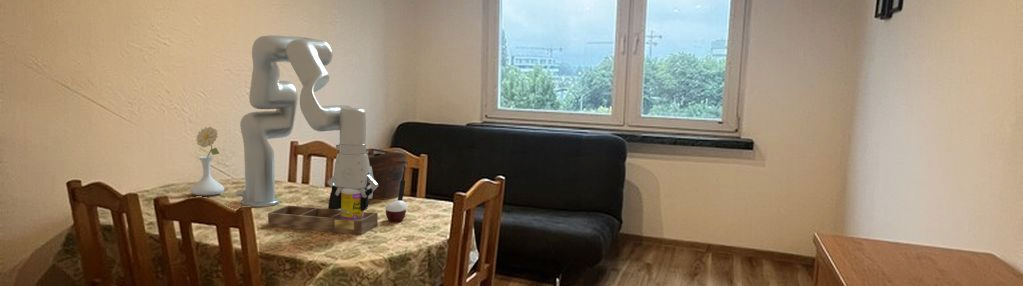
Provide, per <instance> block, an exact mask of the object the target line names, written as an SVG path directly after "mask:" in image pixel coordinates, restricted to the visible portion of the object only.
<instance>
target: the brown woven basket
mask: <svg viewBox="0 0 1023 286" xmlns="http://www.w3.org/2000/svg"><path fill="white" fill-rule="evenodd" d="M366 154H368V158H369V164H370V166H371V167H372V172H373V177H374V180H375V181H376V183H377V184H378V187H377V188H376V189H375V190H374V191H373V197H372V199H375V200H386V199H387V200H388V199H394V198H398V194H399V188H400V181H401V180H403V177H404V171H405V166H406V165H409V162H408V159H407V154H406V153H405V152H404V151H402V150H392V151H388V150H384V149H381V148H380V149H379V148H371V147H370V148H366Z"/></svg>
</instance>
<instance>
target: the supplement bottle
mask: <svg viewBox="0 0 1023 286" xmlns="http://www.w3.org/2000/svg"><path fill="white" fill-rule="evenodd" d="M361 198H362V194H361V191H360V189H351V188H342V190H341V219H349V220H362V219H364V212H365V210H364V211H361Z"/></svg>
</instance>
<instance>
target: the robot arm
mask: <svg viewBox="0 0 1023 286" xmlns="http://www.w3.org/2000/svg"><path fill="white" fill-rule="evenodd" d="M251 59H252V71H251V80H250V87H249V97H248V99H249V103H250V106H251V107H253V108H254V109H257V110H264V111H252V112H249V113H246V114H245V115H243V116H242V118H241V119H240V132H241V136H242V141H243V142H242V143H243V152H244V153H243V154H244V185H245V188H244V189H238V190H237V192H236V193H235V194H236V195H235V196H237V197H242V199H241V200H240V205H242V206H244V207H249V206H250V207H251V208H256V207H257V208H258V207H262V208H263V207H271V206H274V205H278V204H279V203H280V201H281V199H280V197H276V191H275V190H276V186H275V185H276V183H275V180H276V178H275V176H276V175H275V151H274V149H273V147H272V145H271V144H270V142H269V141H268V140H272V139H280V138H281V139H282V138H286V137H288V136H290V135H291V134H292V133H293V130H294V124H295V121H296V113H297V108H298V106H297V105H298V100H299V106H300V110H301V113H302V115H303V117H304V119H305V120H306V122H307V124H308V125H309V127H310V128H311V129H313V130H314V131H315V132H331V131H334V132H335V131H339V143H338V144H336V145H335V149H336V150H338V151H339V152H338V153H337V154H336V157H335V161H334V168H333V171H334V172H333V176H332V177H330V178H329V180H327V184H328V185H329V187H330V188H331V191H332V190H333V191H334V192H335V194H336V195H337V205H338V209H341V190H342V188H351V189H360V191H361V194H362V198H361V211H364V212H365V210H368V208H369V200H368V196H370V194H371V193H372V192H373V191H374V190H375V189H376V188H377V187H378V184H377V183H376V181H375V180H374V179H373V178H372V177H371V174H370V164H369V158H368V154H366V149H367V147H366V146H367V113H366V110H365V109H364V108H362V107H352V106H351V105H350V106H349V105H346V104H345V105H344V104H343V105H342V104H340V105H320V103H319V102H318V100H317V98H316V96H315V92H318V91H320V90H321V89H323V88H325V86H327V84H328V83H329V81H330V75H329V74H330V73H328V71H327V69H326V66H328V65H329V64H330V63H331V62H332V60H333V51H332V48H331V45H330V44H329V43H328V42H327V41H325V40H322V39H315V38H311V37H303V36H288V35H272V34H270V35H261V36H259V37H257V38H256V39H255V40H254V41H253V44H252V46H251ZM278 63H290V64H291V66H292V68H293V70H294V72H295V73H296V76H297V77H298V80H299V81H300V83H301V85H302V88H301V90H300V94H299V99H298V91H297V88H296V86H295V85H294V83H293V82H291V81H287V80H280V75H281V69H280V66H279V64H278ZM267 110H268V111H267ZM370 184H371V187H370V189H368V187H367V186H369V185H370Z"/></svg>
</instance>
